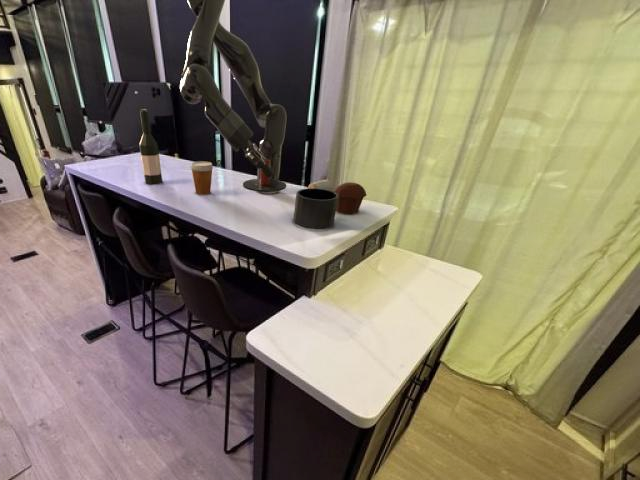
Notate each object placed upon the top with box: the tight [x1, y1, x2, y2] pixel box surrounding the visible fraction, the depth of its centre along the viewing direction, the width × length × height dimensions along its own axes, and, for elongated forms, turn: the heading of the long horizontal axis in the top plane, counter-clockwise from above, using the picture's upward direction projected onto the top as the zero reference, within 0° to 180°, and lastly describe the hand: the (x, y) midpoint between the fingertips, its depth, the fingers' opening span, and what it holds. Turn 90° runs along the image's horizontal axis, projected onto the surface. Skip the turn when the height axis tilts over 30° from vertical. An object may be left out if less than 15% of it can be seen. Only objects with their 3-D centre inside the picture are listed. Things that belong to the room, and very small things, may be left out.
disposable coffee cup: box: [189, 161, 214, 196], centre depth 132 cm, size 10×10×12 cm
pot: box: [292, 187, 339, 230], centre depth 105 cm, size 14×14×10 cm
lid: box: [242, 159, 287, 193], centre depth 102 cm, size 15×15×9 cm
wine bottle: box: [139, 108, 164, 186], centre depth 140 cm, size 8×8×30 cm
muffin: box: [333, 181, 367, 215], centre depth 116 cm, size 12×11×10 cm
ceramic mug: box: [307, 179, 334, 192], centre depth 126 cm, size 11×8×8 cm
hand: (271, 173), depth 101 cm, fingers closed on lid, 3 cm apart
